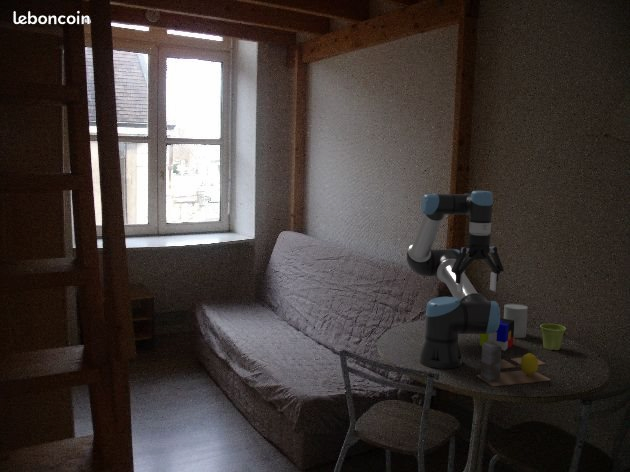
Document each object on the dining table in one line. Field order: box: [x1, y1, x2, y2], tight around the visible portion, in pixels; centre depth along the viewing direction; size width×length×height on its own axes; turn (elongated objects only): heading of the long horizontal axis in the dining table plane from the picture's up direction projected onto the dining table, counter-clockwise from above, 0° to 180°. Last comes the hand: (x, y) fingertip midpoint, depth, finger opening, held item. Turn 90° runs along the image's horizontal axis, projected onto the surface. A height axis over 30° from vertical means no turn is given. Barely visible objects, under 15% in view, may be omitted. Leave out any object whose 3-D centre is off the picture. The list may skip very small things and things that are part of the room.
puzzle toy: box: [479, 317, 515, 351], centre depth 232 cm, size 10×10×10 cm
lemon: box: [520, 352, 539, 376], centre depth 197 cm, size 6×6×8 cm
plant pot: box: [539, 323, 567, 351], centre depth 229 cm, size 9×9×9 cm
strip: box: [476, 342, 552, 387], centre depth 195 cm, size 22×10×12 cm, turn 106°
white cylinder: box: [503, 303, 529, 339], centre depth 247 cm, size 10×10×12 cm
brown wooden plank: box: [480, 357, 547, 370], centre depth 211 cm, size 22×8×1 cm, turn 106°
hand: (476, 291), depth 213 cm, fingers open, 13 cm apart
